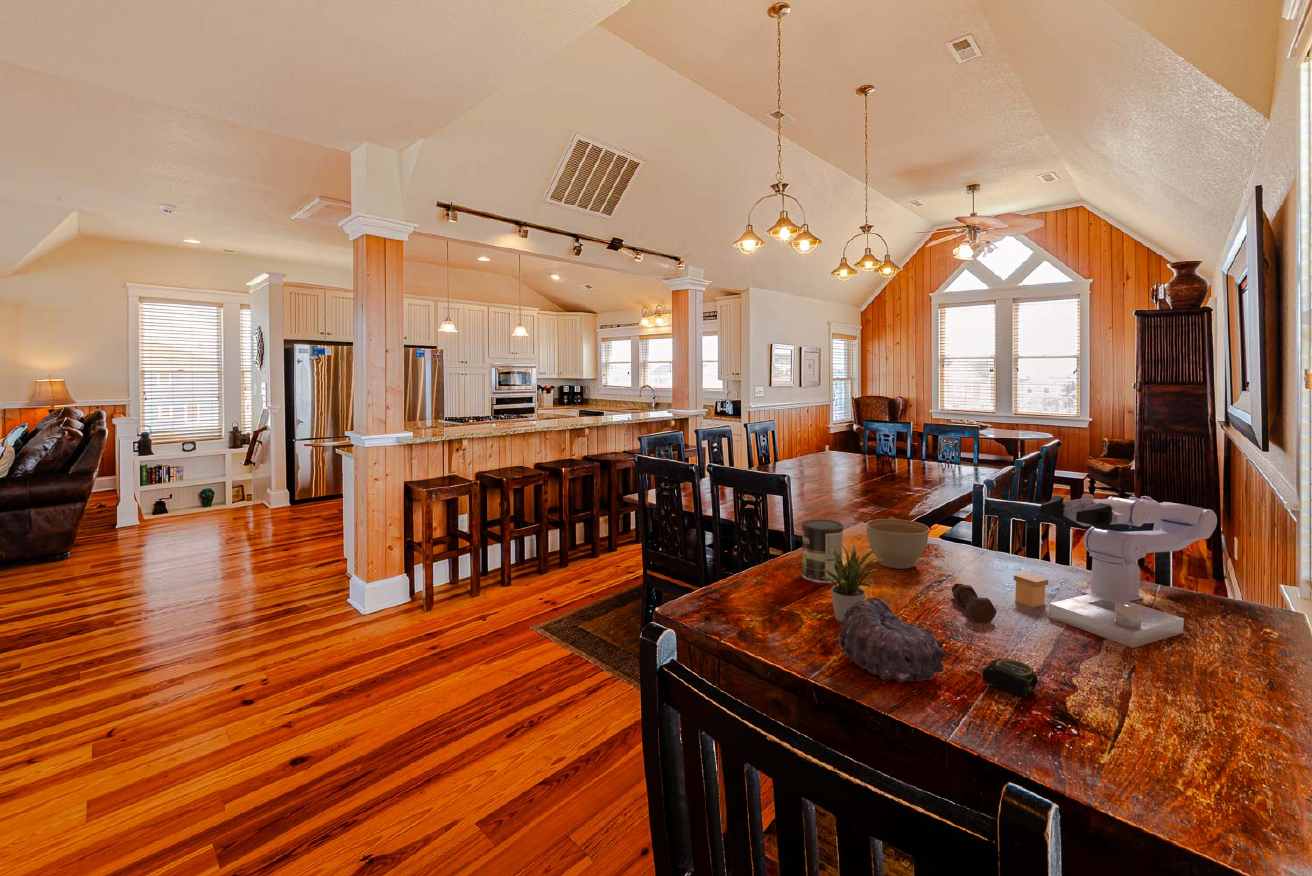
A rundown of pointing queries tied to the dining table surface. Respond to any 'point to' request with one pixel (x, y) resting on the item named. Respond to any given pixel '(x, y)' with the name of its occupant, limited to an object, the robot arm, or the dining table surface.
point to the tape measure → (1010, 676)
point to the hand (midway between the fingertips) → (1059, 512)
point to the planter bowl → (897, 541)
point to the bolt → (974, 603)
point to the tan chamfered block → (1030, 589)
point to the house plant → (848, 581)
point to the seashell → (889, 643)
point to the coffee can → (820, 548)
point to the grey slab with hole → (1116, 619)
